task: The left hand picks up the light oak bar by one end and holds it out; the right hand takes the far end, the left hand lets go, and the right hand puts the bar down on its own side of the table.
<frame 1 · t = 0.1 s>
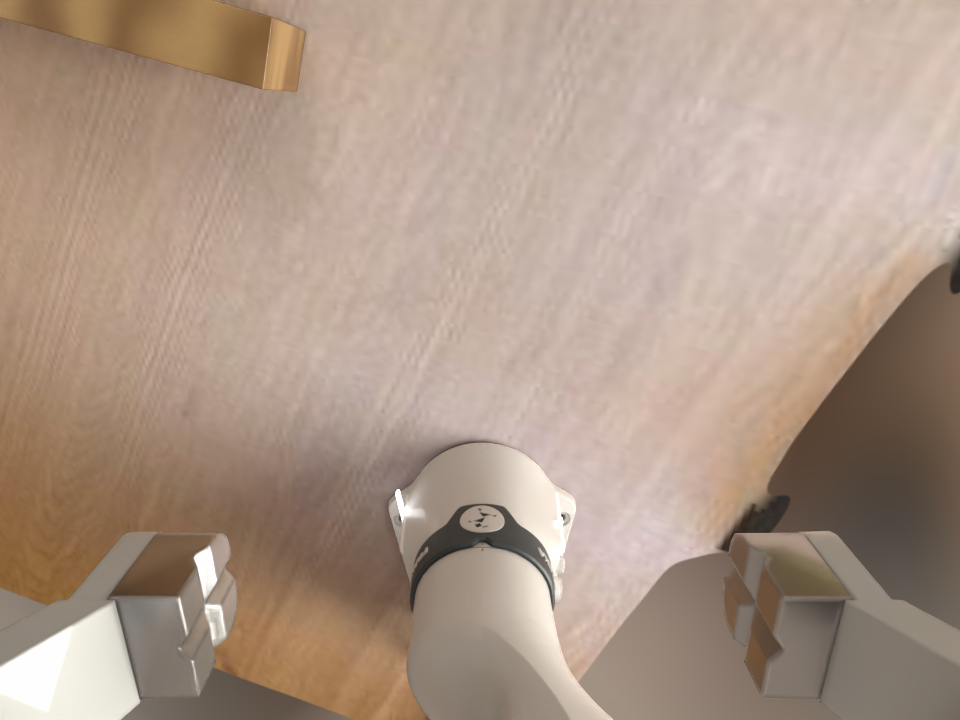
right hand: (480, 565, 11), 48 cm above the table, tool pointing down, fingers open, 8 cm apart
bar: (136, 16, 50), on the table
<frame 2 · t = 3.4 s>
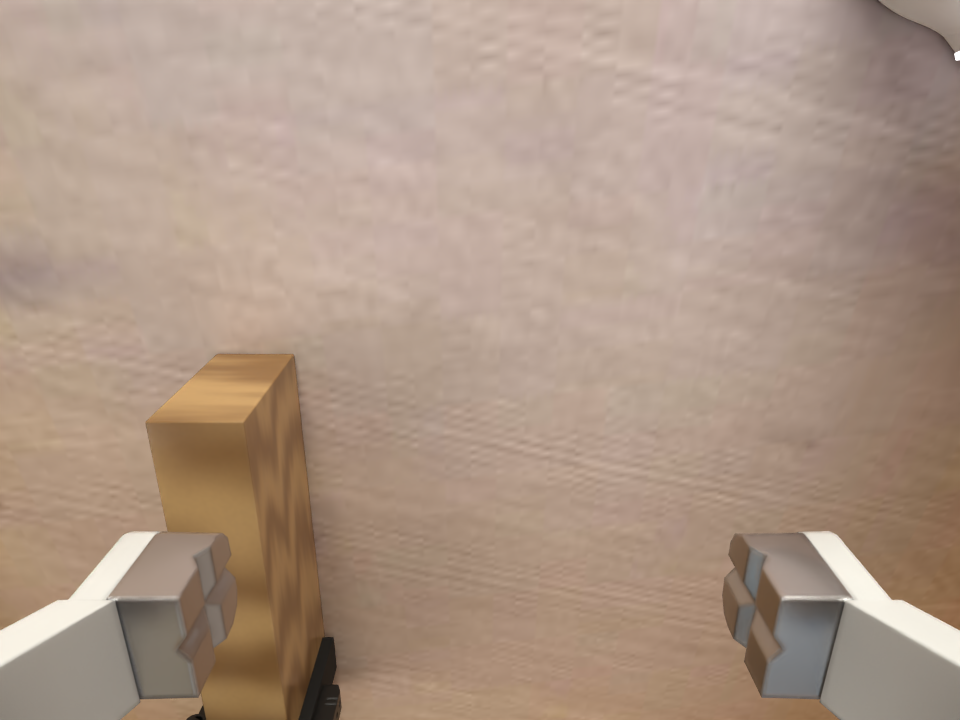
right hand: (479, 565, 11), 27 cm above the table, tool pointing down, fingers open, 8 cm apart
bar: (279, 538, 43), on the table, touching left hand
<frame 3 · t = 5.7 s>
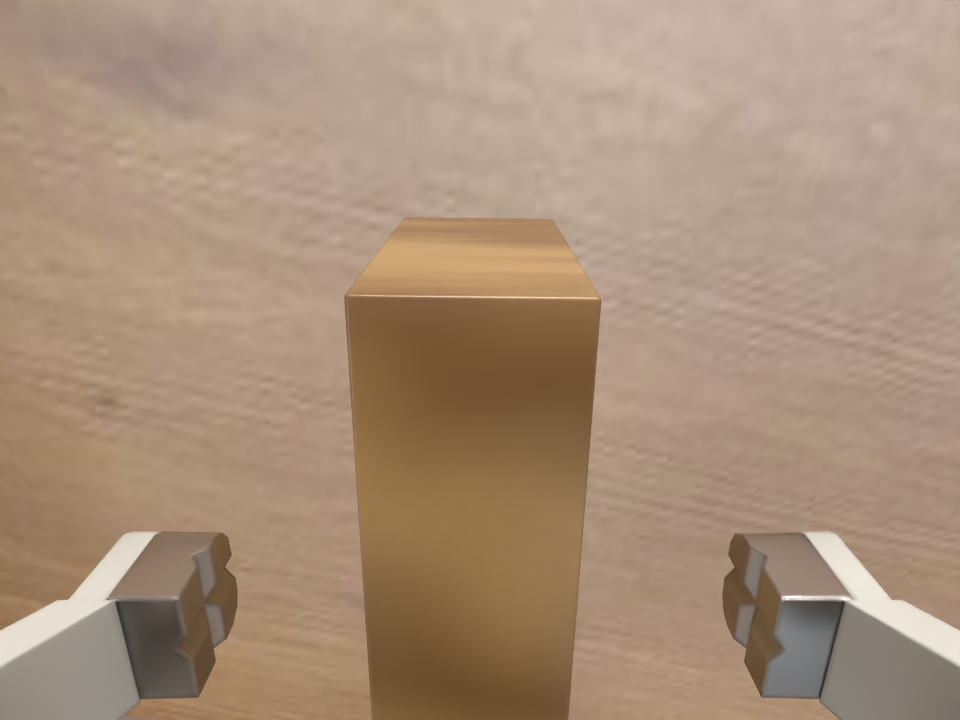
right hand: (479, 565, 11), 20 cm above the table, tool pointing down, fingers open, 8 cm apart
bar: (475, 569, 24), point 9 cm above the table, touching left hand
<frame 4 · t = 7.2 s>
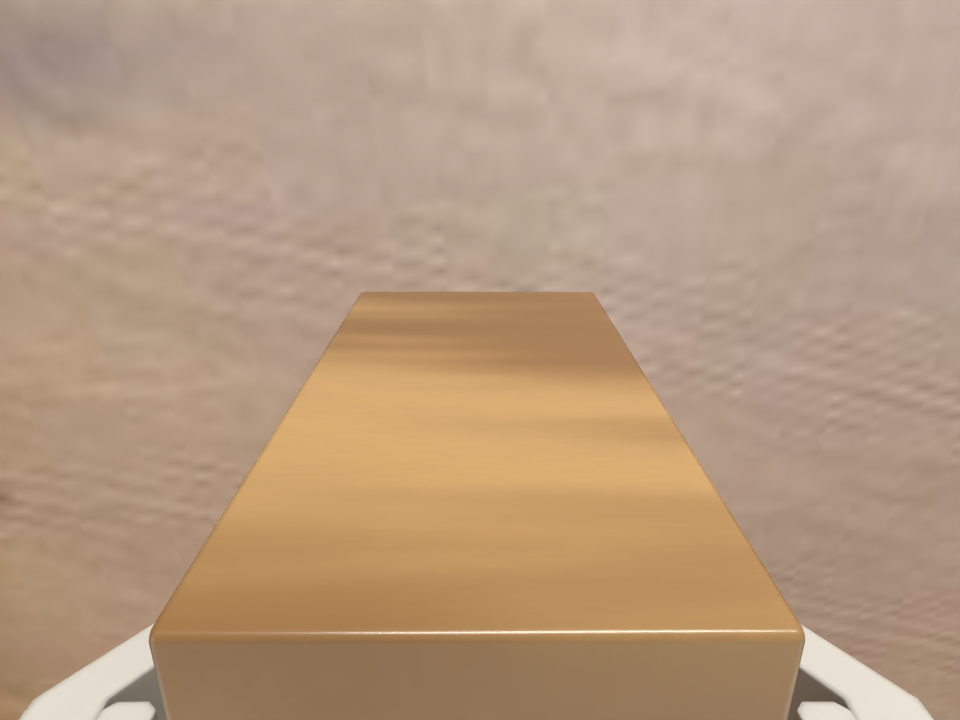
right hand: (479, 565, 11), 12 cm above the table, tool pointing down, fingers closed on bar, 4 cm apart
when the left hand's fingers open (9 cm above the table, at t = 8.0 s): bar stays where it is, held by the right hand.
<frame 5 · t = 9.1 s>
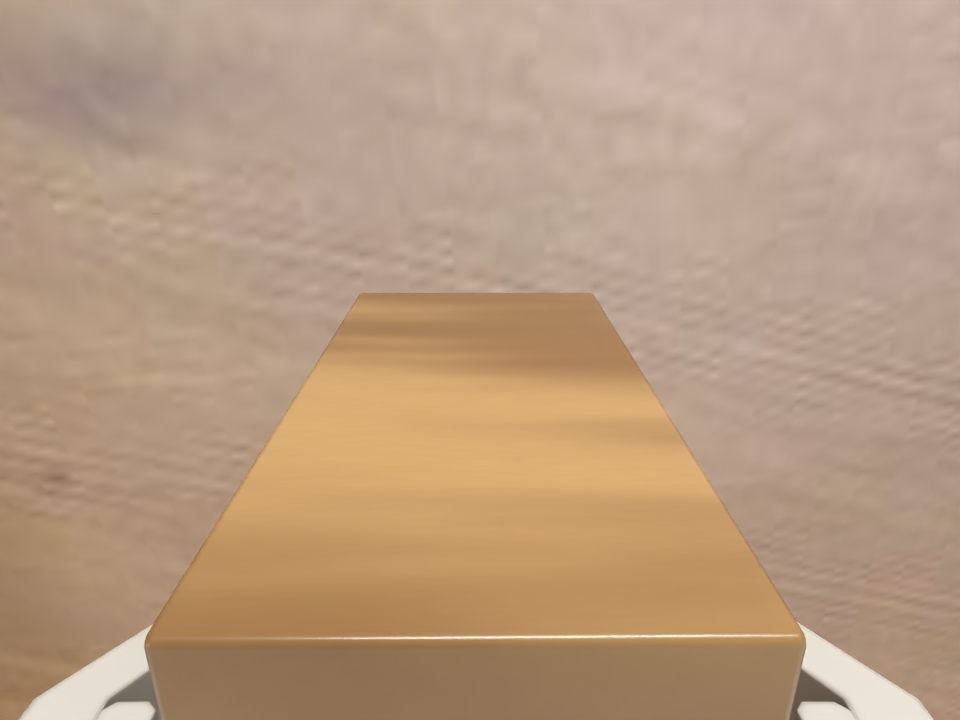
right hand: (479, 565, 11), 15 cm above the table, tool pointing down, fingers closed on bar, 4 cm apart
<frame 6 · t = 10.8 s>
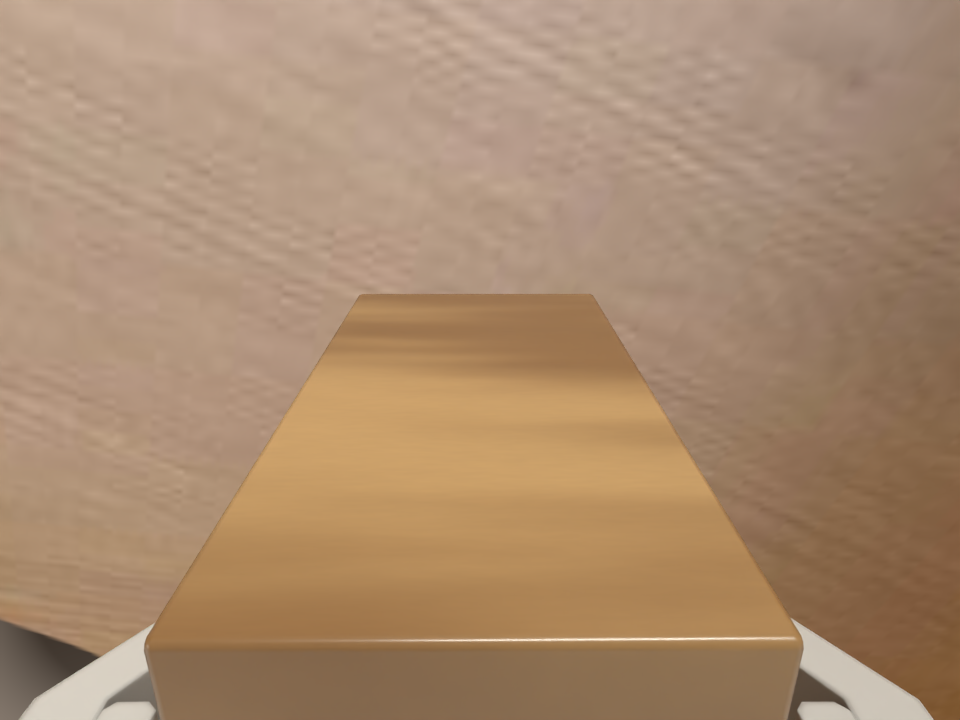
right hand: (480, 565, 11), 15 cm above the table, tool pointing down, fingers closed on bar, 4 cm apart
when the right hand's fingers open (5 cm above the table, at t = 12.6 s): bar stays where it is, on the table.
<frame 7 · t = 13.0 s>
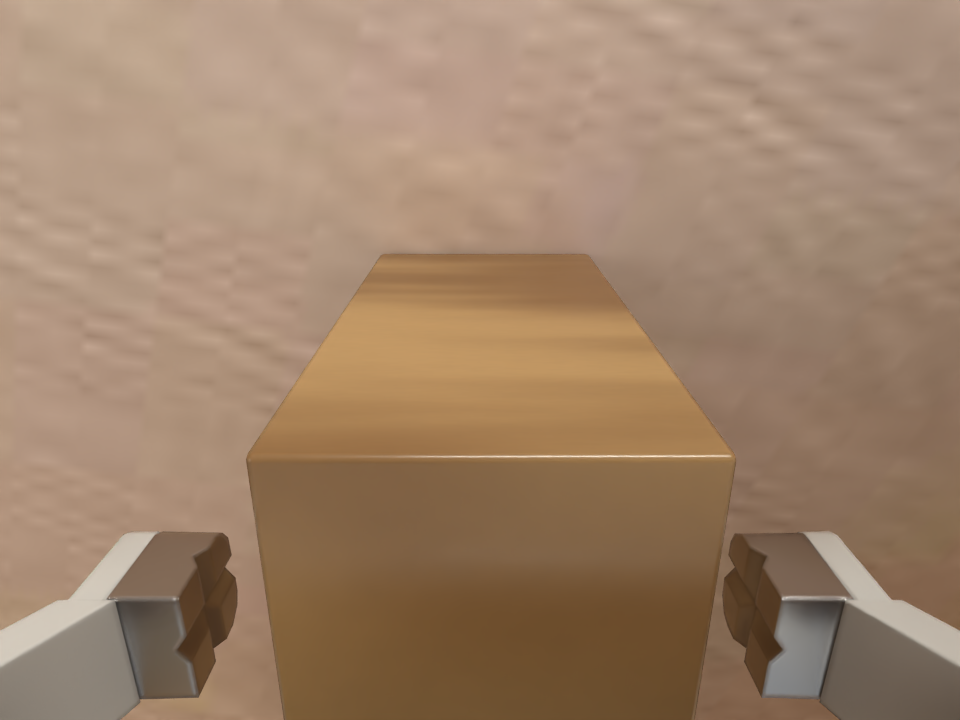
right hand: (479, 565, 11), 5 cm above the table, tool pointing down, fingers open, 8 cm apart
bar: (483, 697, 19), on the table
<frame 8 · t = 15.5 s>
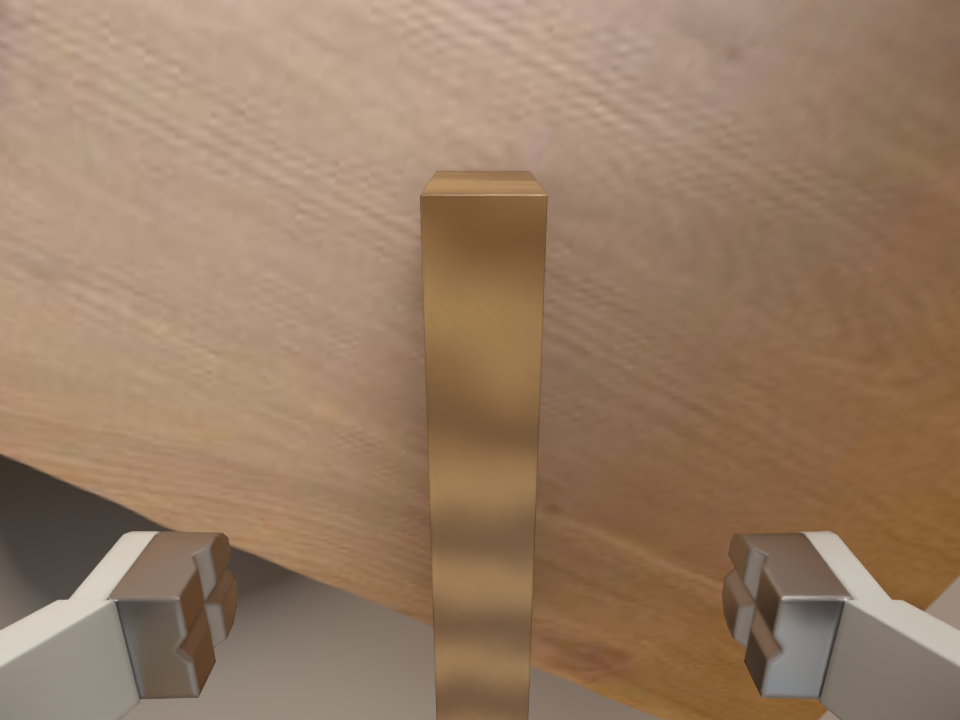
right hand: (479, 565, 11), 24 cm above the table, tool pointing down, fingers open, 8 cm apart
bar: (482, 413, 36), on the table
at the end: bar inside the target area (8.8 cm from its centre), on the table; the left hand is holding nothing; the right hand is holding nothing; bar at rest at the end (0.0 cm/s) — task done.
